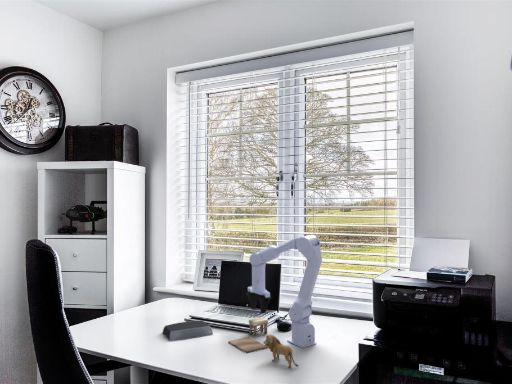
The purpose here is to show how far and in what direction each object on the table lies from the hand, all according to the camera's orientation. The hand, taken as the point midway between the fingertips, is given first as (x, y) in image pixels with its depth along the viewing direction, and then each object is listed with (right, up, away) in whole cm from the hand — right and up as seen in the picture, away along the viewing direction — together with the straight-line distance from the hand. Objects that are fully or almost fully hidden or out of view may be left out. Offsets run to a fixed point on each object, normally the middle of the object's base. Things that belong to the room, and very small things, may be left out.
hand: (258, 310), depth 189 cm
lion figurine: (+8, -10, -33) cm, 35 cm away
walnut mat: (-4, -10, -15) cm, 18 cm away
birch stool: (0, -10, 0) cm, 10 cm away
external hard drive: (-31, -11, 0) cm, 33 cm away
